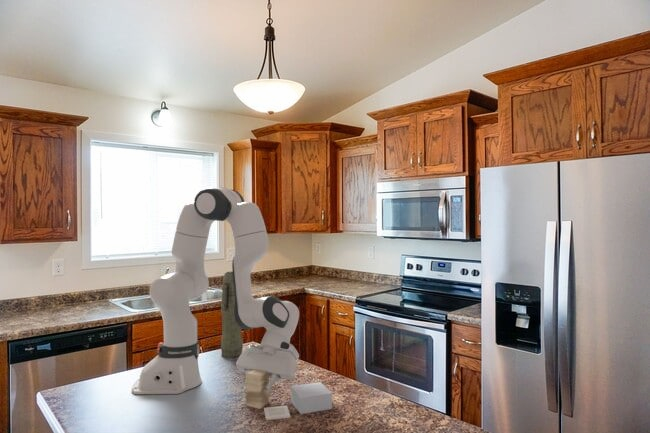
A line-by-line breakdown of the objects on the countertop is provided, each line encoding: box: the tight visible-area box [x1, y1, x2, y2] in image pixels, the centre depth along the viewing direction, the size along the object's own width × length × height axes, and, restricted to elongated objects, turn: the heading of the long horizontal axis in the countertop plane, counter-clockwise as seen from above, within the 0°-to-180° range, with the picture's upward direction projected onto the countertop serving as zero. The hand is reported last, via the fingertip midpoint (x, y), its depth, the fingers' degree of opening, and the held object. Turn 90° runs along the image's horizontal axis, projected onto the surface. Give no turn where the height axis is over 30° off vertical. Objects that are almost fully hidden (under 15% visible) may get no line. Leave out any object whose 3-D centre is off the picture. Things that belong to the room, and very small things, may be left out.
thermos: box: [220, 271, 244, 359], centre depth 187 cm, size 9×12×35 cm
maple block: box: [245, 369, 270, 410], centre depth 137 cm, size 5×5×10 cm
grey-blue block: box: [290, 381, 333, 415], centre depth 136 cm, size 10×10×5 cm
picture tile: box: [263, 405, 291, 421], centre depth 130 cm, size 7×7×1 cm
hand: (256, 387), depth 136 cm, fingers open, 6 cm apart
